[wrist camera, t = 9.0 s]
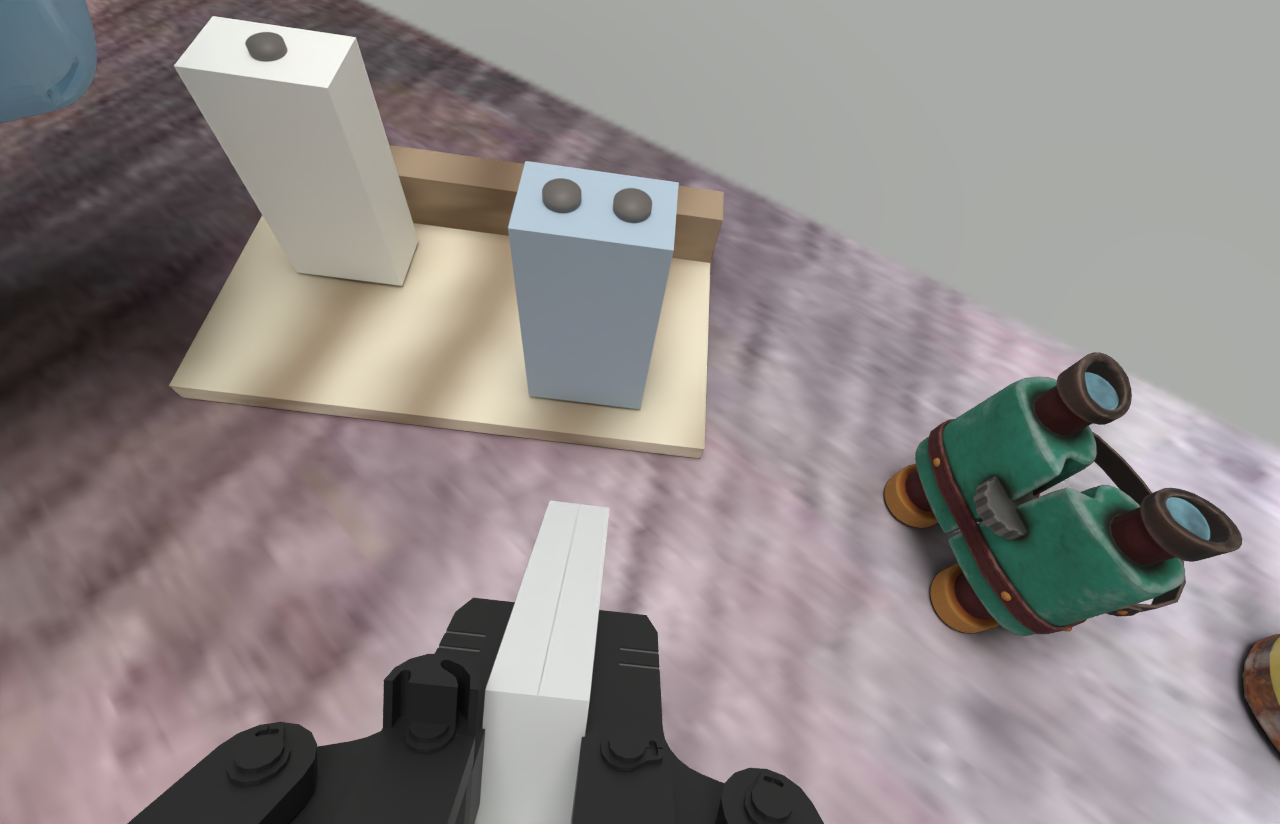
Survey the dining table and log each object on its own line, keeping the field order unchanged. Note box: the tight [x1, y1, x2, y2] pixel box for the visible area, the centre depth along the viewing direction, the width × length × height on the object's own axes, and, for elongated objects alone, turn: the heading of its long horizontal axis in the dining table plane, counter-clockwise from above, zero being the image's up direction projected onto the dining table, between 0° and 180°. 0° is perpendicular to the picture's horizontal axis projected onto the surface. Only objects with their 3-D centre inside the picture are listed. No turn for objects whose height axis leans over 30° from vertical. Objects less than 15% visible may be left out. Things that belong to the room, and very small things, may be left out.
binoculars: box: [885, 353, 1242, 636], centre depth 23 cm, size 9×11×10 cm
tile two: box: [508, 161, 679, 409], centre depth 23 cm, size 5×3×10 cm, turn 85°
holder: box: [169, 145, 723, 458], centre depth 28 cm, size 23×13×4 cm, turn 85°
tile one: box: [174, 16, 418, 286], centre depth 25 cm, size 5×3×10 cm, turn 85°
